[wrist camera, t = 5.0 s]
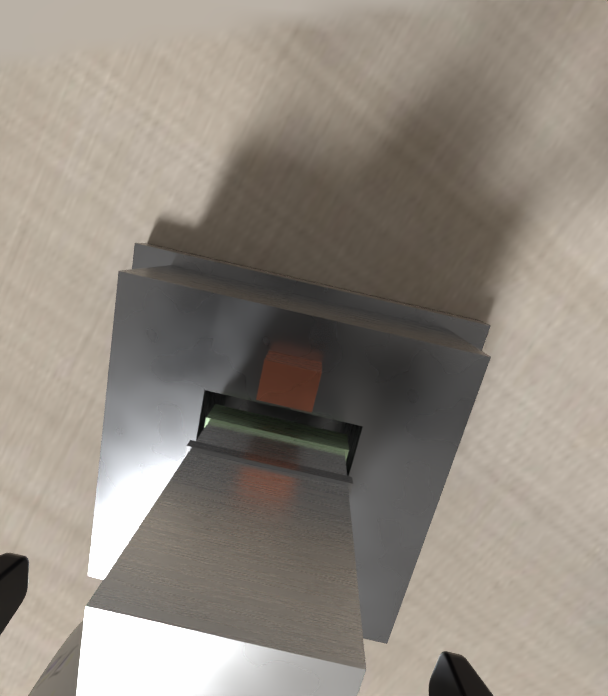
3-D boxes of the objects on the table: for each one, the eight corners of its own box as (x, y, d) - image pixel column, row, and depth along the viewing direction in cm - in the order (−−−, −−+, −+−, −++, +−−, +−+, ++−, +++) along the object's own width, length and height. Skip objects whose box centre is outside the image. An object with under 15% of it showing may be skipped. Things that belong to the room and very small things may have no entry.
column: (347, 434, 12) (375, 666, 5) (316, 544, 13) (307, 853, 7) (215, 403, 12) (79, 599, 5) (195, 517, 13) (59, 798, 6)
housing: (480, 320, 16) (568, 362, 10) (398, 557, 19) (430, 693, 13) (146, 243, 16) (44, 240, 10) (117, 493, 19) (25, 601, 13)
